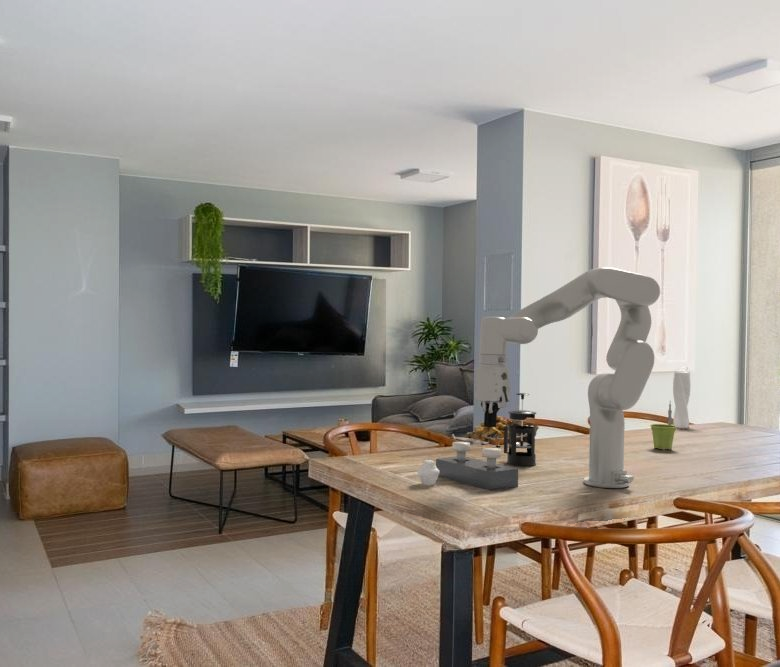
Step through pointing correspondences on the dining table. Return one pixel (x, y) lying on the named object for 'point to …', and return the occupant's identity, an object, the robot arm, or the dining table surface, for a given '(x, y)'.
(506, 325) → the robot arm
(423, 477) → the white ribbed round lump
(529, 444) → the french press
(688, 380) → the skyscraper
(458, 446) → the knob
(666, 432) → the plant pot
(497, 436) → the food tray
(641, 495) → the dining table surface
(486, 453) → the knob
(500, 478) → the mount
